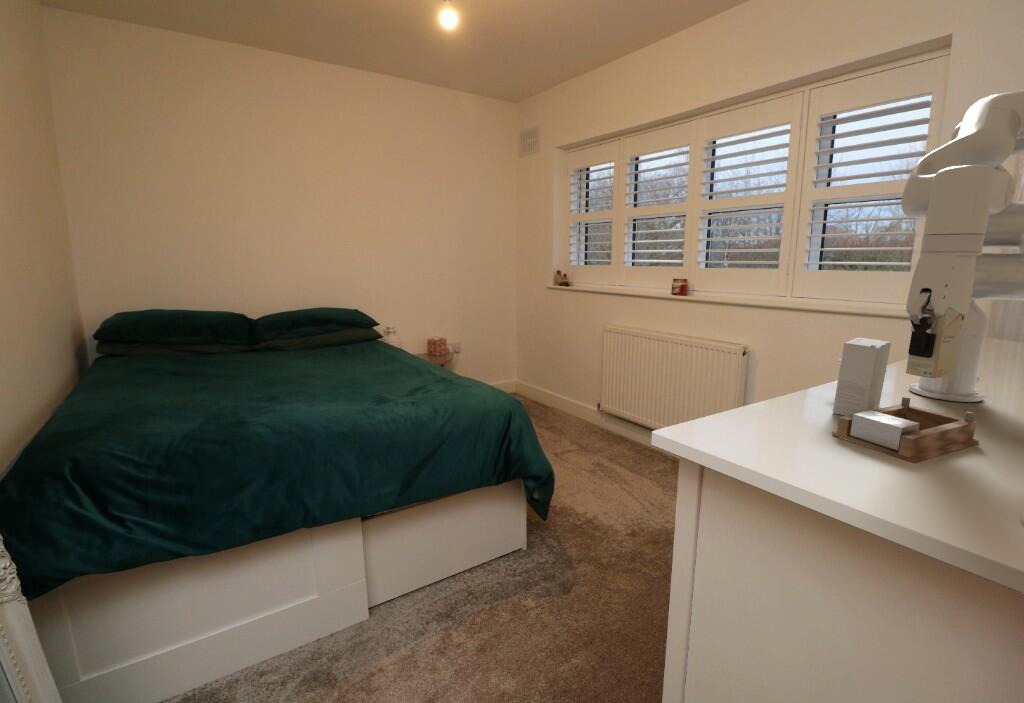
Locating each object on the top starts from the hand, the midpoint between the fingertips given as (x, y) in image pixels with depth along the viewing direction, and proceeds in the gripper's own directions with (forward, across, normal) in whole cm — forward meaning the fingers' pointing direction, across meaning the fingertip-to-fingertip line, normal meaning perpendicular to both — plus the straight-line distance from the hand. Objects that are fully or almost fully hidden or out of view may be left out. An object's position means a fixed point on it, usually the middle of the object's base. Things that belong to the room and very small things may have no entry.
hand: (931, 353), depth 82 cm
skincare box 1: (+15, -3, -12) cm, 19 cm away
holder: (+15, +4, 0) cm, 15 cm away
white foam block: (+14, +10, 0) cm, 17 cm away
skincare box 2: (+4, 0, 0) cm, 4 cm away
